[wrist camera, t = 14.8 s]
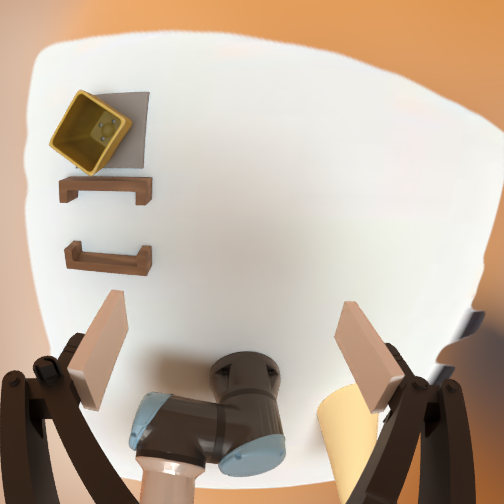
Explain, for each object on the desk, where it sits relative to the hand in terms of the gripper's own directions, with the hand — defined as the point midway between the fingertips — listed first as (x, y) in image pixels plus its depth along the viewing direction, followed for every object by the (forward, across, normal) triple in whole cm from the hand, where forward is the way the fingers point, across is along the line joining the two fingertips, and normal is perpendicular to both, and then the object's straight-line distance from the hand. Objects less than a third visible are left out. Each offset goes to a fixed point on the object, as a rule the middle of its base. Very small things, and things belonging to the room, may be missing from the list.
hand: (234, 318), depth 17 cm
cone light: (+32, -35, +55) cm, 72 cm away
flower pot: (+31, +20, -10) cm, 38 cm away
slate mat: (+31, +20, -10) cm, 38 cm away
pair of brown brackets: (+32, +20, +5) cm, 38 cm away
